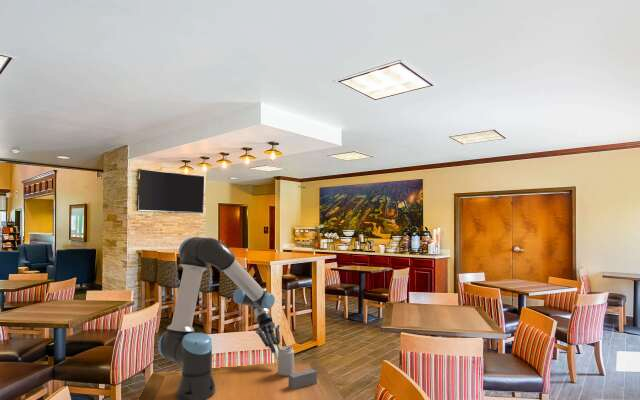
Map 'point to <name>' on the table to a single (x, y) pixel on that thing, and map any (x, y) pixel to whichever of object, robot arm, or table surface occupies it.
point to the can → (285, 360)
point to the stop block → (302, 379)
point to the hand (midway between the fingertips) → (278, 357)
